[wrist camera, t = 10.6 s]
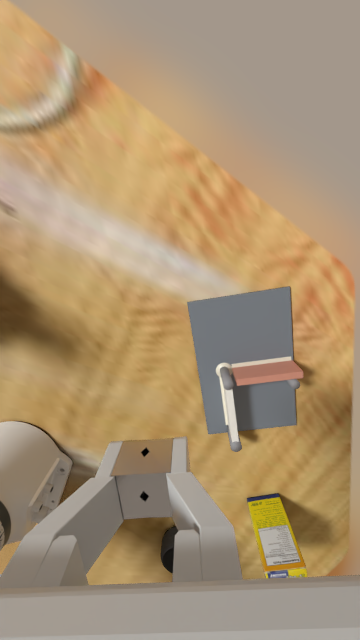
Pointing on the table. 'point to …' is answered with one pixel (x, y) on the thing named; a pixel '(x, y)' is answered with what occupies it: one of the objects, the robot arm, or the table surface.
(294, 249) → the table surface
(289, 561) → the supplement box
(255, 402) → the card
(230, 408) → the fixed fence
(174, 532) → the smart speaker
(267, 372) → the fence panel
